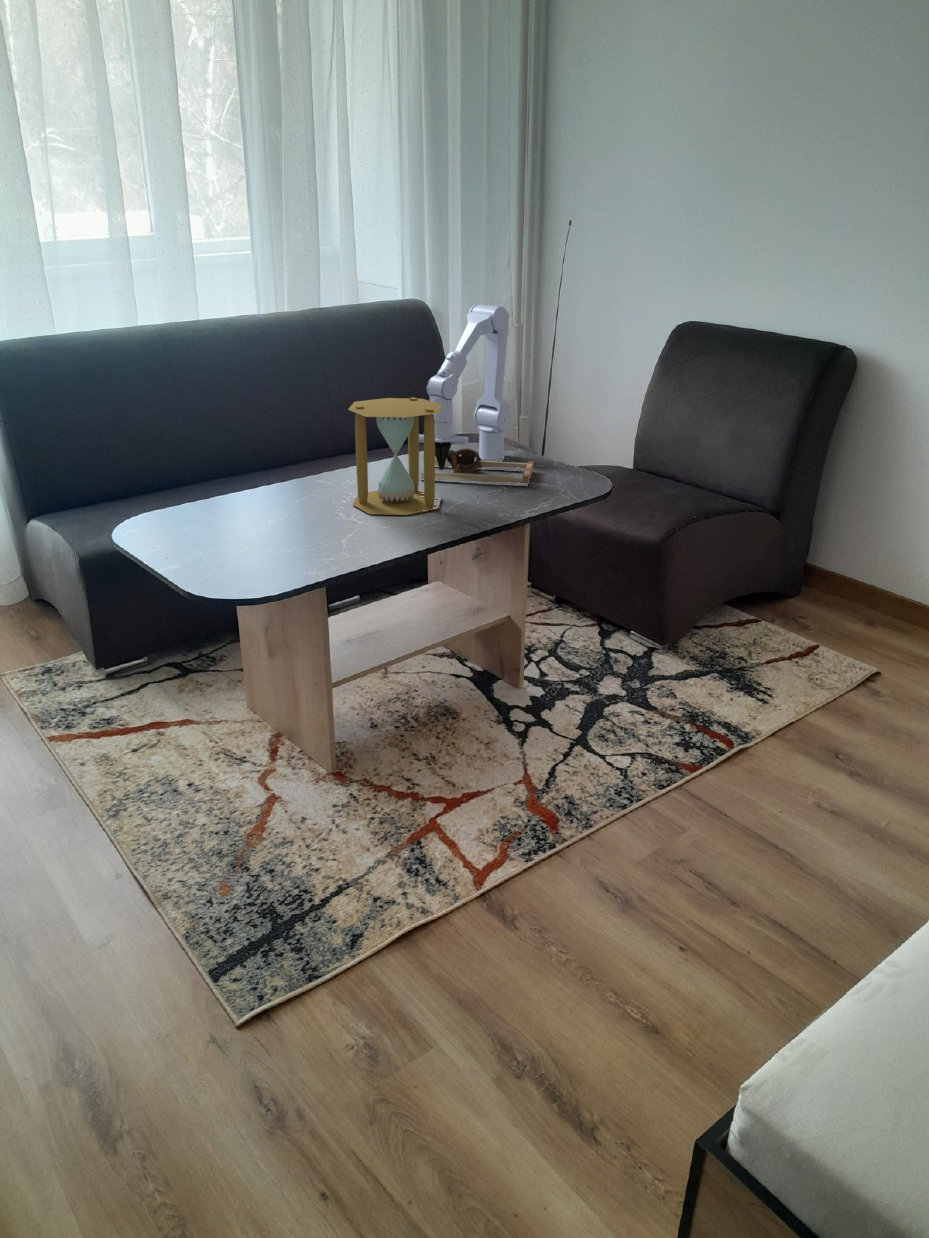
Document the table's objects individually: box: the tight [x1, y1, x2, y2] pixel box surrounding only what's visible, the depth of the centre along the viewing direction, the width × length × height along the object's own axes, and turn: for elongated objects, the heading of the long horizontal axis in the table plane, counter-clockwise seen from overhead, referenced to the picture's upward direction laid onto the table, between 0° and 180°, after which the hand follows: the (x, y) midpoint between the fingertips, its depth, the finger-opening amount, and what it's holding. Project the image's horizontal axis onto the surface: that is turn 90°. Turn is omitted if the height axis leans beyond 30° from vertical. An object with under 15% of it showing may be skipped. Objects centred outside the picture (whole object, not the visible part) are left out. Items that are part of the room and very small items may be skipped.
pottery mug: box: [446, 448, 482, 474], centre depth 263 cm, size 12×10×8 cm
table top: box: [420, 457, 534, 483], centre depth 262 cm, size 15×30×3 cm, turn 81°
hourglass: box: [347, 397, 442, 516], centre depth 235 cm, size 24×22×25 cm
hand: (441, 468), depth 263 cm, fingers closed
